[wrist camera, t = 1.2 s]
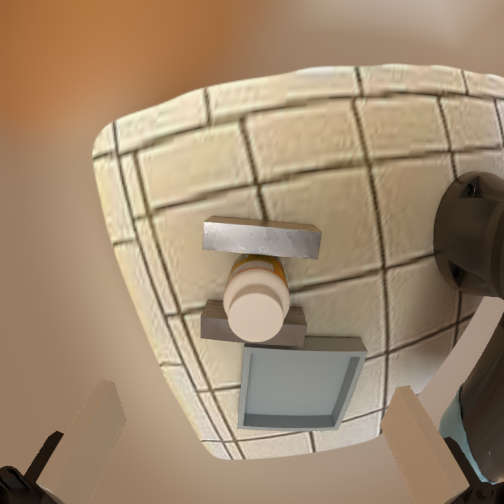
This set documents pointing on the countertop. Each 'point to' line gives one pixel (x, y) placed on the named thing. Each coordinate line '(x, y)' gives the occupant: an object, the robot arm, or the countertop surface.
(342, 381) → the grey tray
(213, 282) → the countertop surface
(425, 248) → the countertop surface
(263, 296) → the supplement bottle
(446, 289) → the countertop surface
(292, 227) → the steel jaws
